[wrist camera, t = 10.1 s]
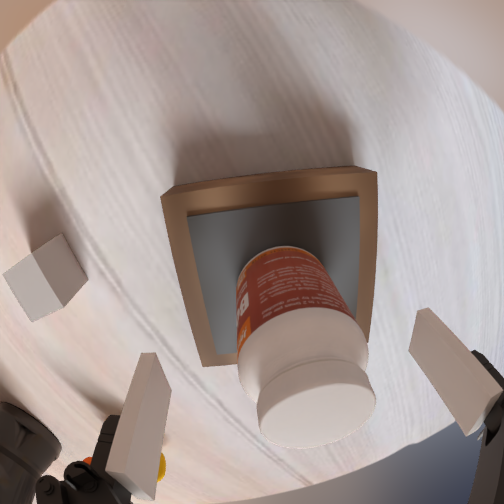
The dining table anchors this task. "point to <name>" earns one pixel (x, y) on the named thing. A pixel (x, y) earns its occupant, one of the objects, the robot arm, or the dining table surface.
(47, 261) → the stone block
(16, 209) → the dining table surface
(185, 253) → the podium
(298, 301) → the pill bottle
